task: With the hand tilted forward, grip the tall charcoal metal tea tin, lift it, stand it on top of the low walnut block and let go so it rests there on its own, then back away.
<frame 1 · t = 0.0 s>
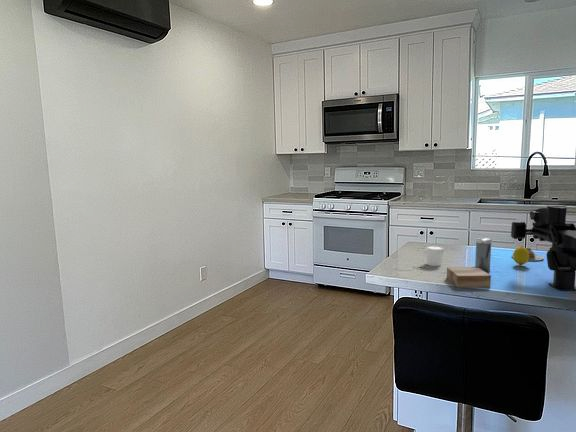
hand: (526, 226, 163), 17 cm above the counter, tool horizontal, fingers open, 9 cm apart
lemon: (520, 266, 168), on the counter
shot glass: (434, 264, 174), on the counter
walnut block: (467, 282, 149), on the counter
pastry: (527, 259, 180), on the counter
tea tin: (482, 271, 162), on the counter
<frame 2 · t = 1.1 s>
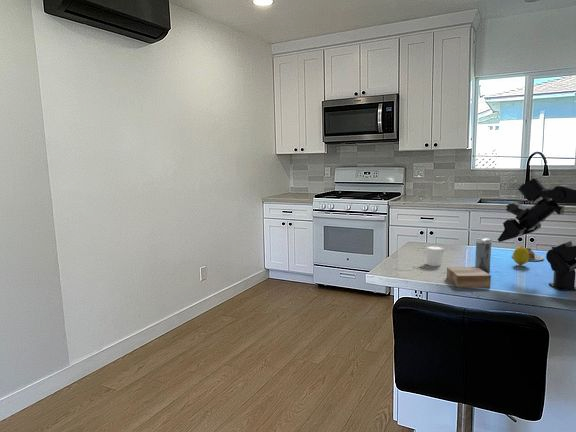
hand: (504, 239, 154), 14 cm above the counter, tool tilted 45°, fingers open, 9 cm apart
nothing on the counter moved.
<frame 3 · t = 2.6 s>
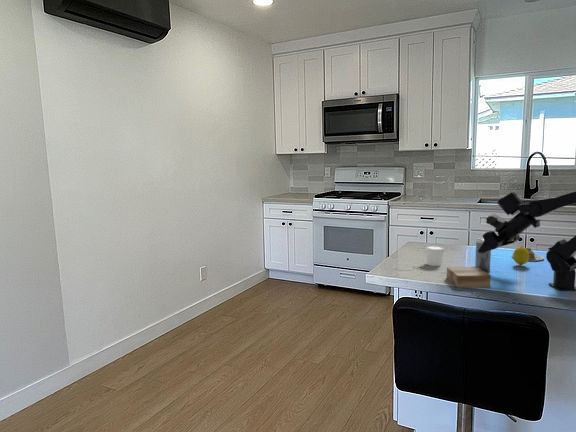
hand: (484, 249, 160), 8 cm above the counter, tool tilted 45°, fingers open, 9 cm apart
nothing on the counter moved.
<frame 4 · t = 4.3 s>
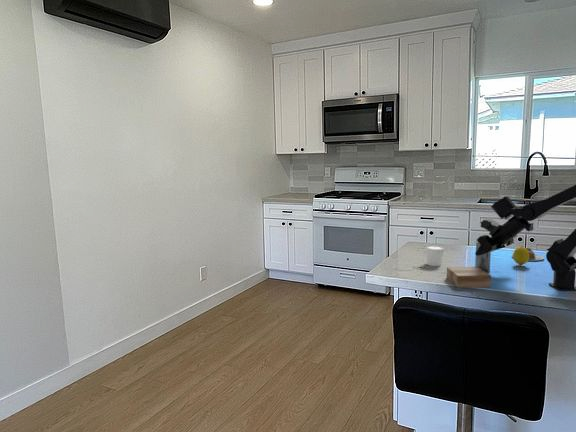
hand: (479, 253, 162), 7 cm above the counter, tool tilted 45°, fingers closed on tea tin, 5 cm apart
tea tin: (482, 270, 162), on the counter, touching gripper
everything else where it was.
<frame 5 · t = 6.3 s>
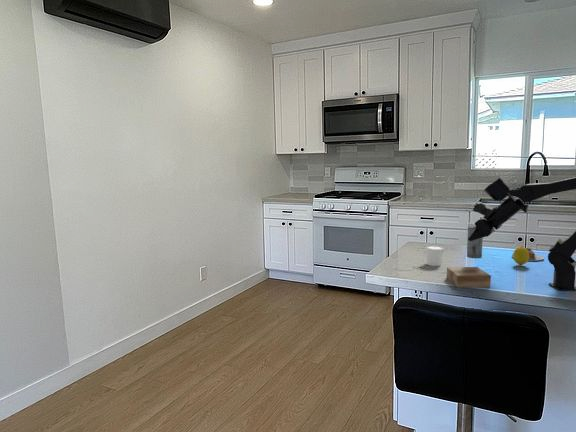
hand: (470, 238, 157), 14 cm above the counter, tool tilted 45°, fingers closed on tea tin, 5 cm apart
tea tin: (474, 256, 157), point 7 cm above the counter, touching gripper
everything else where it was.
when the fingers open (12 cm above the counter, at t = 8.2 s): tea tin drops 1 cm, resting on walnut block.
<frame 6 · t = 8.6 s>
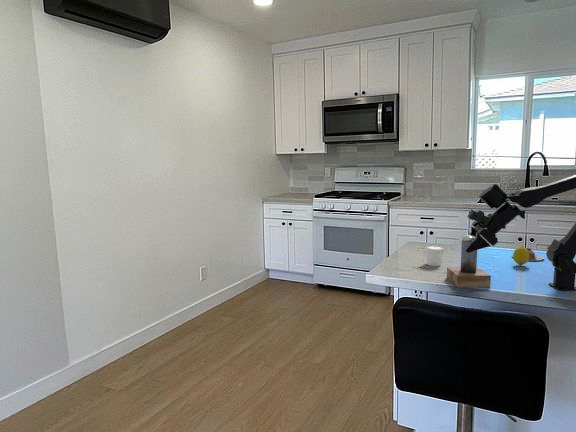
hand: (464, 248, 147), 12 cm above the counter, tool tilted 45°, fingers open, 9 cm apart
tea tin: (468, 271, 148), point 4 cm above the counter, touching walnut block
everything else where it was.
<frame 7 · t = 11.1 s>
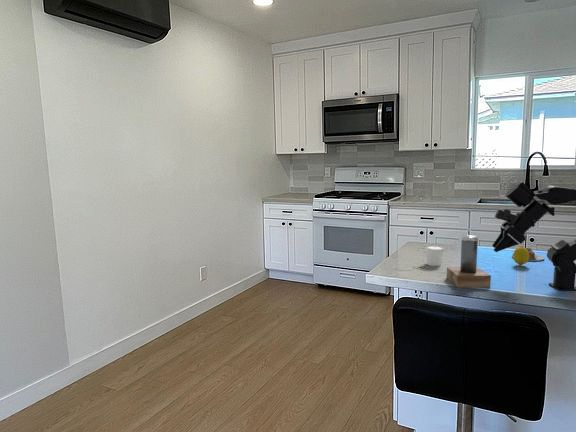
hand: (493, 248, 146), 12 cm above the counter, tool tilted 40°, fingers open, 9 cm apart
nothing on the counter moved.
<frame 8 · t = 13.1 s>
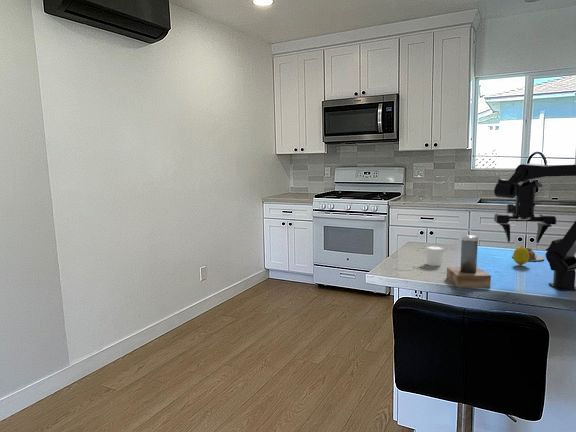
hand: (522, 242, 151), 13 cm above the counter, tool pointing down, fingers open, 9 cm apart
nothing on the counter moved.
at the end: tea tin 0.0 cm off-centre on the walnut block, point 4.0 cm above the walnut block's base; tea tin tilted 0°; the gripper is holding nothing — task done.
